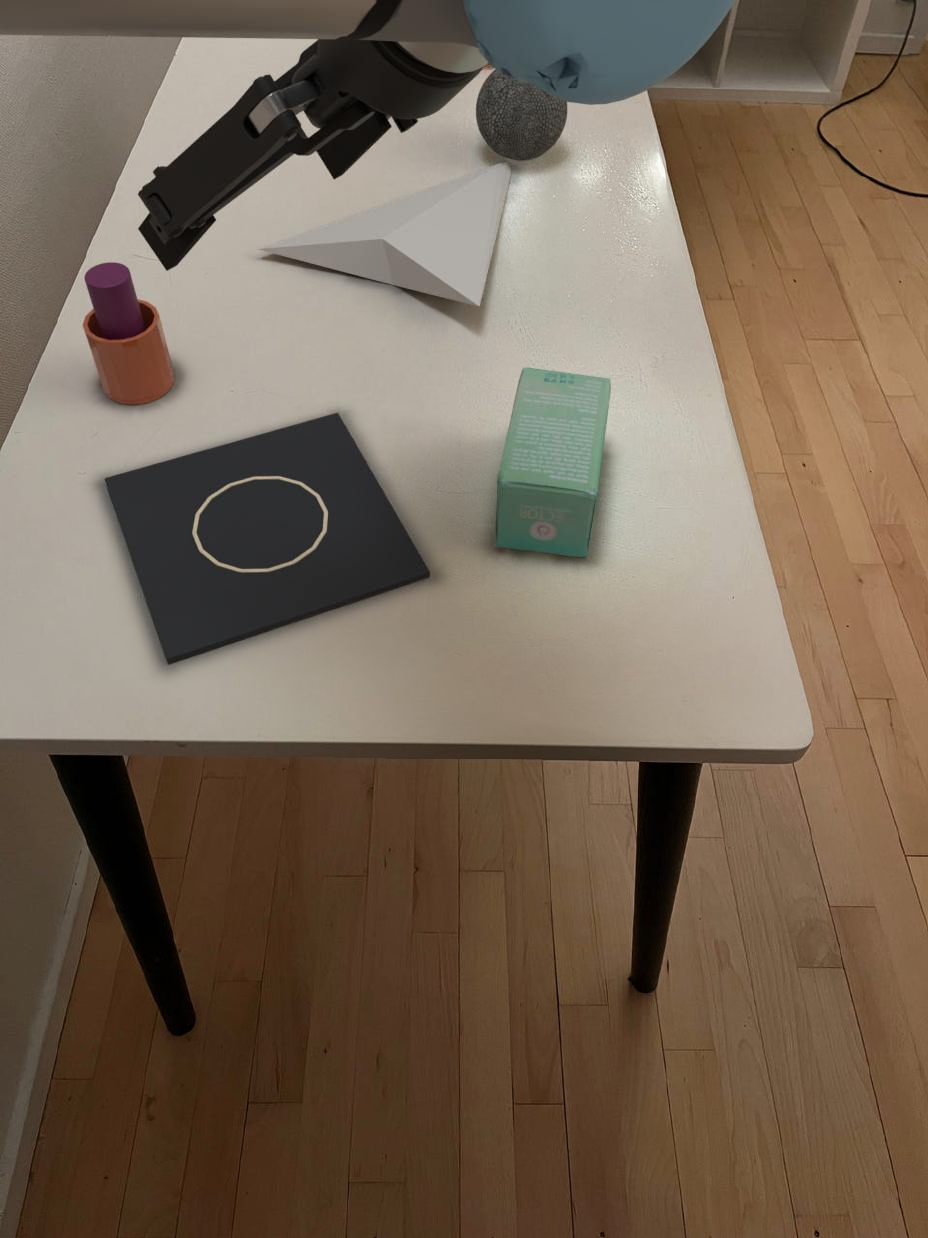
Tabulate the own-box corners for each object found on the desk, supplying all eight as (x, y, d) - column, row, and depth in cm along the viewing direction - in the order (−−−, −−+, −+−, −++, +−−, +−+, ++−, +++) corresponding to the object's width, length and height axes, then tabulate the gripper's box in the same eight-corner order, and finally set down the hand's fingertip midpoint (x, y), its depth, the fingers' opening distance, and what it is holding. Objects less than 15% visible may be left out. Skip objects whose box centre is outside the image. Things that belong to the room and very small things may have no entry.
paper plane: (610, 200, 114) (615, 163, 110) (478, 339, 98) (479, 300, 95) (410, 139, 122) (408, 102, 118) (258, 258, 106) (252, 220, 103)
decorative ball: (565, 178, 116) (573, 85, 109) (474, 176, 116) (475, 83, 109) (562, 134, 123) (569, 43, 115) (476, 133, 123) (477, 42, 115)
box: (492, 552, 81) (496, 480, 75) (515, 436, 89) (520, 364, 84) (587, 564, 80) (599, 493, 75) (601, 447, 89) (612, 374, 83)
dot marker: (121, 395, 92) (89, 291, 84) (112, 371, 94) (80, 267, 86) (162, 385, 93) (134, 280, 85) (152, 361, 95) (124, 257, 87)
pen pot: (111, 412, 91) (91, 349, 86) (96, 370, 95) (76, 308, 90) (182, 393, 93) (166, 330, 88) (164, 353, 96) (148, 291, 91)
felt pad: (168, 664, 74) (166, 658, 74) (105, 483, 86) (103, 477, 85) (430, 576, 79) (430, 570, 79) (338, 417, 91) (337, 411, 90)
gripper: (268, 184, 41) (118, 350, 59) (632, -8, 53) (417, 177, 71) (149, -1, 39) (31, 228, 57) (556, -157, 51) (355, 72, 69)
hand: (245, 200), depth 64 cm, fingers open, 13 cm apart
